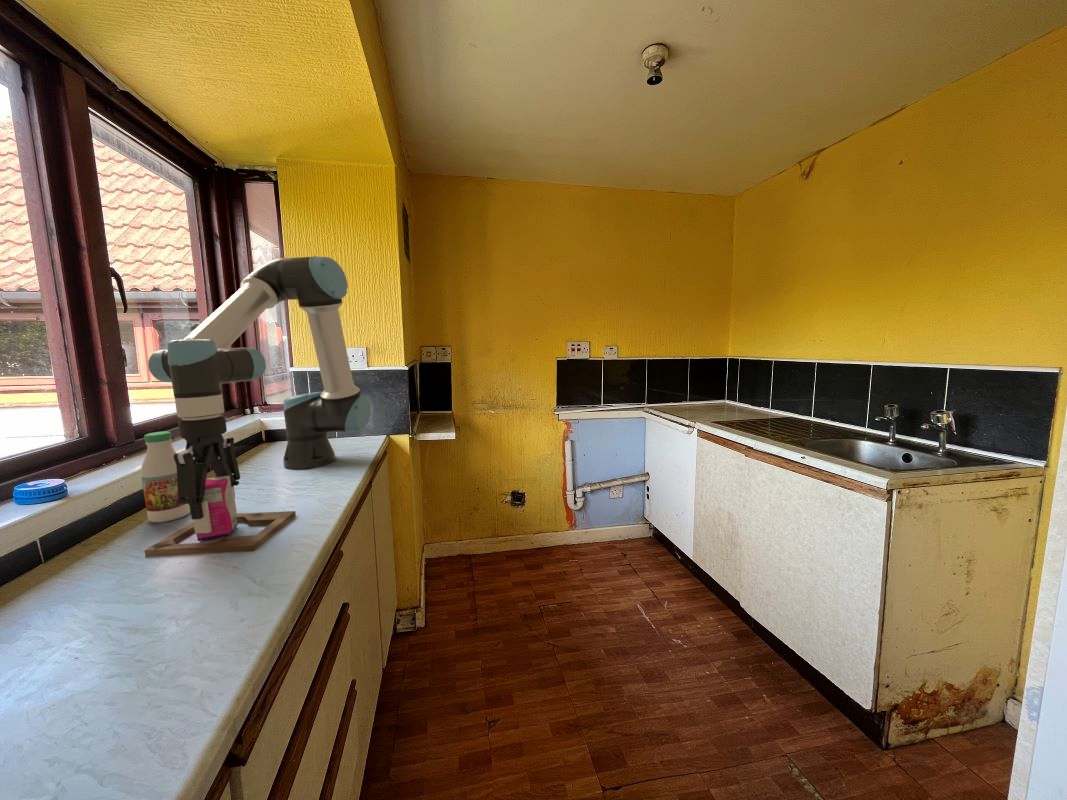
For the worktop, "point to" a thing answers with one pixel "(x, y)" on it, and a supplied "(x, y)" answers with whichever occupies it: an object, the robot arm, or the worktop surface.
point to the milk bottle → (161, 479)
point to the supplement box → (219, 508)
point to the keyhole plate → (226, 543)
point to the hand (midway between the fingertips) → (217, 523)
